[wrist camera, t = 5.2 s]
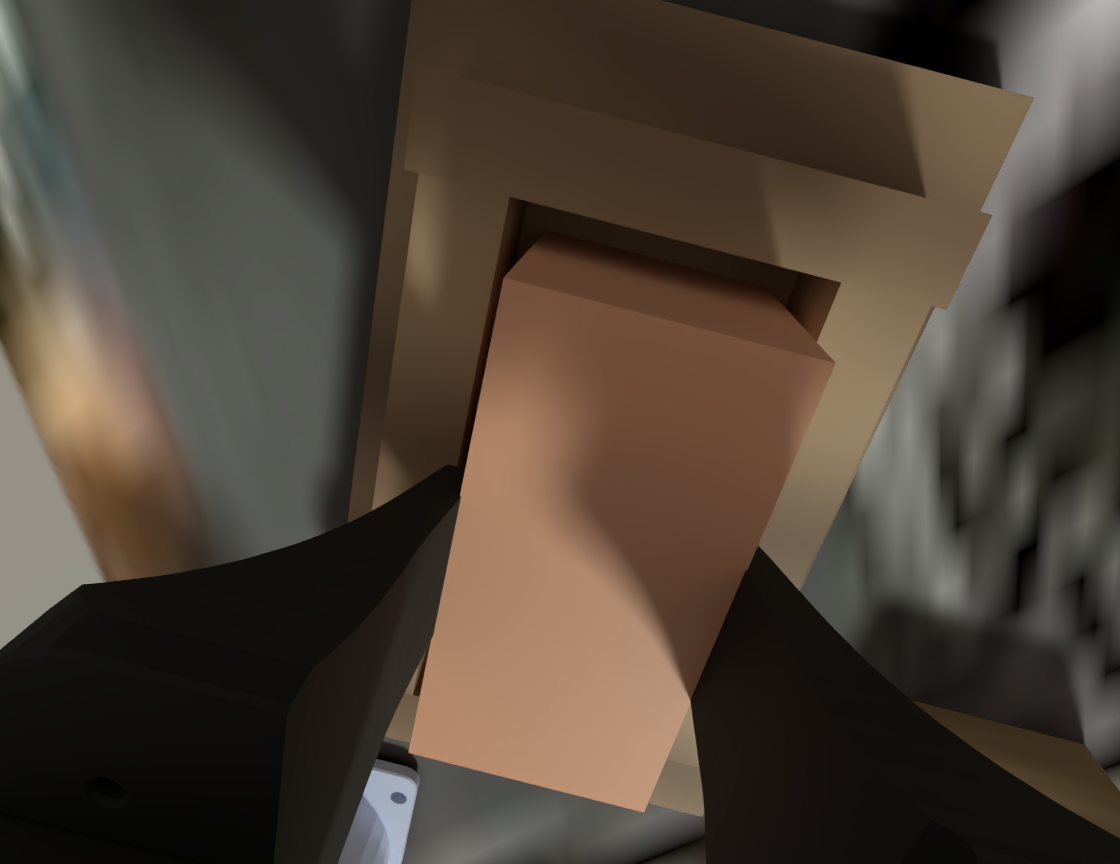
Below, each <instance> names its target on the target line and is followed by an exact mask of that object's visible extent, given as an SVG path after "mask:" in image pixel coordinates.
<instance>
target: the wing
mask: <svg viewBox="0 0 1120 864" xmlns="http://www.w3.org/2000/svg"><path fill="white" fill-rule="evenodd" d="M911 701H913V700H911ZM913 702H914V703H915V704H916V705H917V706H919V707H920V708H921V709H923V710H924V711H925V712H926V713H928V714H929V715H930V716H931V717H933V718H934V719H935V720H937V721H938V722H939V723H941V724H942V725H943V726H945V727H946V728H947V729H949V730H950V731H951V732H953V733H954V734H955V735H957V736H958V737H959V738H961V739H962V740H964V741H965V742H966V743H968V744H969V745H970V746H972V747H973V748H974V749H976V750H977V751H979V752H980V753H982V754H983V755H985V756H986V757H987V758H989V759H990V760H992V761H993V762H995V763H996V764H998V765H999V766H1001V767H1002V768H1004V769H1005V770H1007V771H1008V772H1010V773H1011V774H1013V775H1014V776H1016V777H1018V778H1019V779H1021V780H1022V781H1024V782H1025V783H1027V784H1028V785H1030V786H1032V787H1033V788H1035V789H1036V790H1038V791H1039V792H1041V793H1042V794H1044V795H1046V796H1047V797H1049V798H1050V799H1052V800H1054V801H1055V802H1057V803H1059V804H1060V805H1062V806H1064V807H1065V808H1067V809H1069V810H1071V811H1072V812H1074V813H1076V814H1078V815H1079V816H1081V817H1083V818H1085V819H1086V820H1088V821H1090V822H1092V823H1093V824H1095V825H1097V826H1099V827H1100V828H1102V829H1104V830H1106V831H1108V832H1109V833H1111V834H1113V835H1115V836H1116V837H1118V838H1120V791H1119V790H1118V789H1117V787H1116V786H1115V785H1114V783H1113V782H1112V781H1111V779H1110V778H1109V777H1108V775H1107V774H1106V773H1105V771H1104V770H1103V768H1102V767H1101V766H1100V764H1099V763H1098V762H1097V760H1096V759H1095V758H1094V756H1093V755H1092V754H1091V752H1090V751H1089V750H1088V748H1087V747H1086V746H1085V745H1084V744H1081V743H1077V742H1073V741H1069V740H1065V739H1061V738H1057V737H1053V736H1049V735H1045V734H1041V733H1038V732H1034V731H1030V730H1026V729H1022V728H1018V727H1014V726H1010V725H1006V724H1002V723H999V722H995V721H991V720H987V719H983V718H979V717H975V716H971V715H967V714H963V713H959V712H956V711H952V710H948V709H944V708H940V707H936V706H932V705H928V704H924V703H920V702H916V701H913Z"/></svg>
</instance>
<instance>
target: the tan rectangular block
mask: <svg viewBox="0 0 1120 864" xmlns="http://www.w3.org/2000/svg"><path fill="white" fill-rule="evenodd" d="M835 364H836V363H835V362H834V361H833V360H832V358H831V357H830V356H829V355H828V354H827V353H826V352H825V351H824V350H823V349H822V347H821V346H820V345H819V344H818V343H817V342H816V341H815V340H814V339H813V338H812V336H811V335H810V334H809V333H808V332H807V331H806V330H805V329H804V328H803V326H802V325H801V324H800V323H799V322H798V321H797V320H796V319H795V318H794V317H793V315H792V314H791V313H790V312H789V311H788V310H787V309H786V308H785V307H784V306H783V304H782V303H781V302H780V301H779V300H778V299H777V298H776V297H775V296H774V295H773V293H772V292H771V291H770V290H769V289H768V288H767V287H765V286H762V285H758V284H754V283H750V282H746V281H742V280H738V279H734V278H731V277H727V276H723V275H719V274H715V273H711V272H707V271H703V270H700V269H696V268H692V267H688V266H684V265H680V264H676V263H673V262H669V261H665V260H661V259H657V258H653V257H649V256H645V255H642V254H638V253H634V252H630V251H626V250H622V249H618V248H614V247H611V246H607V245H603V244H599V243H595V242H591V241H587V240H584V239H580V238H576V237H572V236H568V235H564V234H560V233H556V232H553V231H549V230H547V231H546V232H545V233H544V234H543V235H542V236H541V237H540V238H539V239H538V240H537V242H536V243H535V244H534V245H533V246H532V247H531V248H530V249H529V250H528V251H527V252H526V254H525V255H524V256H523V257H522V258H521V259H520V260H519V261H518V262H517V263H516V265H515V266H514V267H513V268H512V269H511V270H510V271H509V272H508V273H507V274H506V275H505V277H504V278H503V283H502V288H501V293H500V298H499V303H498V308H497V313H496V318H495V323H494V328H493V333H492V338H491V343H490V348H489V353H488V358H487V363H486V368H485V373H484V378H483V383H482V388H481V393H480V398H479V403H478V408H477V413H476V418H475V423H474V428H473V433H472V438H471V443H470V448H469V453H468V458H467V463H466V468H465V473H464V478H463V483H462V488H461V493H460V497H461V500H460V505H459V510H458V515H457V520H456V525H455V530H454V535H453V540H452V545H451V550H450V555H449V560H448V565H447V570H446V575H445V580H444V585H443V590H442V594H441V599H440V604H439V609H438V614H437V619H436V624H435V629H434V634H433V637H432V639H431V643H430V648H429V653H428V658H427V663H426V668H425V673H424V678H423V683H422V688H421V693H420V698H419V703H418V708H417V713H416V718H415V723H414V728H413V733H412V738H411V743H410V748H409V753H411V754H415V755H419V756H423V757H427V758H431V759H435V760H439V761H443V762H447V763H451V764H455V765H459V766H463V767H467V768H471V769H475V770H479V771H482V772H486V773H490V774H494V775H498V776H502V777H506V778H510V779H514V780H518V781H522V782H526V783H530V784H534V785H538V786H542V787H546V788H550V789H553V790H557V791H561V792H565V793H569V794H573V795H577V796H581V797H585V798H589V799H593V800H597V801H601V802H605V803H609V804H613V805H617V806H621V807H625V808H628V809H632V810H636V811H640V812H644V811H645V809H646V806H647V804H648V802H649V799H650V797H651V795H652V792H653V790H654V788H655V785H656V783H657V781H658V778H659V776H660V774H661V771H662V769H663V767H664V764H665V762H666V760H667V757H668V755H669V753H670V750H671V748H672V746H673V743H674V741H675V739H676V736H677V734H678V732H679V729H680V727H681V725H682V722H683V720H684V717H685V715H686V713H687V710H688V708H689V706H690V703H691V702H690V700H691V697H692V695H693V693H694V690H695V688H696V686H697V683H698V681H699V679H700V676H701V674H702V671H703V669H704V667H705V664H706V662H707V660H708V657H709V655H710V653H711V650H712V648H713V646H714V643H715V641H716V639H717V636H718V634H719V632H720V629H721V627H722V625H723V622H724V620H725V617H726V615H727V613H728V610H729V608H730V606H731V603H732V601H733V599H734V596H735V594H736V592H737V589H738V587H739V585H740V582H741V580H742V578H743V575H744V573H745V571H746V570H748V568H749V565H750V563H751V561H752V558H753V556H754V554H755V551H756V549H757V547H758V544H759V542H760V540H761V537H762V535H763V533H764V530H765V528H766V526H767V523H768V521H769V519H770V516H771V514H772V512H773V509H774V507H775V505H776V502H777V500H778V498H779V495H780V493H781V491H782V488H783V486H784V484H785V481H786V479H787V477H788V474H789V472H790V469H791V467H792V465H793V462H794V460H795V458H796V455H797V453H798V451H799V448H800V446H801V444H802V441H803V439H804V437H805V434H806V432H807V430H808V427H809V425H810V423H811V420H812V418H813V416H814V413H815V411H816V409H817V406H818V404H819V402H820V399H821V397H822V395H823V392H824V390H825V388H826V385H827V383H828V381H829V378H830V376H831V374H832V371H833V369H834V367H835Z"/></svg>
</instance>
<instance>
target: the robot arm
mask: <svg viewBox="0 0 1120 864" xmlns="http://www.w3.org/2000/svg"><path fill="white" fill-rule="evenodd" d="M464 473H465V468H461V467H457V466H453V465H449V464H447V465H445V466H444V467H442V468H440V469H439V470H437V471H435V472H434V473H432V474H431V475H429V476H428V477H426V478H425V479H423V480H422V481H420V482H419V483H417V484H416V485H414V486H413V487H411V488H410V489H408V490H406V491H405V492H403V493H401V494H400V495H398V496H396V497H395V498H393V499H391V500H390V501H388V502H386V503H385V504H383V505H381V506H380V507H378V508H376V509H374V510H372V511H370V512H368V513H366V514H365V515H363V516H361V517H359V518H357V519H355V520H353V521H351V522H349V523H347V524H345V525H343V526H340V527H338V528H336V529H333V530H331V531H329V532H326V533H324V534H321V535H319V536H316V537H313V538H311V539H308V540H306V541H303V542H300V543H297V544H294V545H291V546H288V547H285V548H281V549H278V550H274V551H271V552H267V553H264V554H261V555H257V556H254V557H250V558H247V559H243V560H239V561H235V562H231V563H226V564H222V565H217V566H213V567H208V568H203V569H197V570H192V571H187V572H181V573H175V574H169V575H163V576H155V577H147V578H139V579H130V580H122V581H113V582H105V583H95V584H84V585H81V586H80V587H78V588H77V589H76V590H74V591H73V592H71V593H70V594H69V595H67V596H66V597H65V598H63V599H62V600H61V601H59V602H58V603H57V604H55V605H54V606H53V607H51V608H50V609H49V610H48V611H46V612H45V613H44V614H43V615H42V616H40V617H39V618H38V619H37V620H36V621H34V622H33V623H32V624H31V625H30V626H28V627H27V628H26V629H25V630H23V631H22V632H21V633H20V634H19V635H17V636H16V637H15V638H14V639H13V640H11V641H10V642H9V643H8V644H7V645H5V646H4V647H3V648H2V649H1V650H0V864H402V861H403V856H404V852H405V847H406V842H407V838H408V833H409V828H410V824H411V819H412V814H413V810H414V805H415V801H416V796H417V791H418V787H419V782H420V780H419V776H418V774H417V773H416V772H415V771H414V770H413V769H412V768H409V767H407V766H403V765H399V764H395V763H391V762H387V761H383V760H379V759H376V758H377V756H378V753H379V750H380V748H381V745H382V742H383V740H384V737H385V734H386V732H387V730H388V728H389V725H390V723H391V721H392V718H393V716H394V714H395V712H396V709H397V707H398V705H399V703H400V701H401V699H402V697H403V695H404V693H405V691H406V689H407V687H408V685H409V683H410V681H411V679H412V677H413V675H414V673H415V671H416V669H417V667H418V665H419V663H420V661H421V659H422V657H423V655H424V653H425V651H426V649H427V647H428V645H429V643H430V641H431V639H432V637H433V634H434V629H435V624H436V619H437V614H438V609H439V604H440V599H441V594H442V590H443V585H444V580H445V575H446V570H447V565H448V560H449V555H450V550H451V545H452V540H453V535H454V530H455V525H456V520H457V515H458V510H459V505H460V500H461V497H460V493H461V488H462V483H463V478H464ZM690 702H691V710H692V717H693V725H694V732H695V739H696V746H697V754H698V761H699V768H700V776H701V783H702V791H703V802H704V813H705V841H706V864H1120V838H1118V837H1116V836H1115V835H1113V834H1111V833H1109V832H1108V831H1106V830H1104V829H1102V828H1100V827H1099V826H1097V825H1095V824H1093V823H1092V822H1090V821H1088V820H1086V819H1085V818H1083V817H1081V816H1079V815H1078V814H1076V813H1074V812H1072V811H1071V810H1069V809H1067V808H1065V807H1064V806H1062V805H1060V804H1059V803H1057V802H1055V801H1054V800H1052V799H1050V798H1049V797H1047V796H1046V795H1044V794H1042V793H1041V792H1039V791H1038V790H1036V789H1035V788H1033V787H1032V786H1030V785H1028V784H1027V783H1025V782H1024V781H1022V780H1021V779H1019V778H1018V777H1016V776H1014V775H1013V774H1011V773H1010V772H1008V771H1007V770H1005V769H1004V768H1002V767H1001V766H999V765H998V764H996V763H995V762H993V761H992V760H990V759H989V758H987V757H986V756H985V755H983V754H982V753H980V752H979V751H977V750H976V749H974V748H973V747H972V746H970V745H969V744H968V743H966V742H965V741H964V740H962V739H961V738H959V737H958V736H957V735H955V734H954V733H953V732H951V731H950V730H949V729H947V728H946V727H945V726H943V725H942V724H941V723H939V722H938V721H937V720H935V719H934V718H933V717H931V716H930V715H929V714H928V713H926V712H925V711H924V710H923V709H921V708H920V707H919V706H917V705H916V704H915V703H914V702H913V701H911V700H910V699H909V698H908V697H907V696H906V695H904V694H903V693H902V692H901V691H900V690H899V689H897V688H896V687H895V686H894V685H893V684H892V683H890V682H889V681H888V680H887V679H886V678H885V677H883V676H882V675H881V674H880V673H879V672H878V671H877V670H876V669H875V668H873V667H872V666H871V665H870V664H869V663H868V662H867V661H866V660H865V659H864V658H863V657H862V656H861V655H860V654H859V653H858V652H857V651H856V650H855V649H854V648H853V647H852V646H851V645H850V644H849V643H848V642H847V641H846V640H845V639H844V638H843V637H842V636H841V635H840V634H839V633H838V632H837V631H836V630H835V629H834V628H833V627H832V626H831V625H830V624H829V623H828V622H827V621H826V620H825V619H824V618H823V617H822V615H821V614H820V613H819V612H818V611H817V610H816V609H815V608H814V607H813V606H812V605H811V603H810V602H809V601H808V600H807V599H806V598H805V597H804V596H803V594H802V593H801V592H800V591H799V590H798V589H797V588H796V587H795V585H794V584H793V583H792V582H791V581H790V580H789V579H788V577H787V576H786V575H785V574H784V573H783V572H782V571H781V569H780V568H779V567H778V566H777V565H776V564H775V563H774V562H773V560H772V559H771V558H770V557H769V556H768V555H767V554H766V553H765V552H764V551H763V550H762V549H761V548H760V547H759V546H758V547H757V549H756V551H755V554H754V556H753V558H752V561H751V563H750V565H749V568H748V570H746V571H745V573H744V575H743V578H742V580H741V582H740V585H739V587H738V589H737V592H736V594H735V596H734V599H733V601H732V603H731V606H730V608H729V610H728V613H727V615H726V617H725V620H724V622H723V625H722V627H721V629H720V632H719V634H718V636H717V639H716V641H715V643H714V646H713V648H712V650H711V653H710V655H709V657H708V660H707V662H706V664H705V667H704V669H703V671H702V674H701V676H700V679H699V681H698V683H697V686H696V688H695V690H694V693H693V695H692V697H691V700H690Z"/></svg>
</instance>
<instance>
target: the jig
mask: <svg viewBox="0 0 1120 864" xmlns="http://www.w3.org/2000/svg"><path fill="white" fill-rule="evenodd" d="M1033 99H1034V97H1030V96H1026V95H1022V94H1019V93H1015V92H1011V91H1007V90H1003V89H999V88H996V87H992V86H988V85H984V84H980V83H976V82H973V81H969V80H965V79H961V78H957V77H953V76H950V75H946V74H942V73H938V72H934V71H930V70H927V69H923V68H919V67H915V66H911V65H907V64H904V63H900V62H896V61H892V60H888V59H884V58H881V57H877V56H873V55H869V54H865V53H862V52H858V51H854V50H850V49H846V48H842V47H839V46H835V45H831V44H827V43H823V42H819V41H816V40H812V39H808V38H804V37H800V36H796V35H793V34H789V33H785V32H781V31H777V30H773V29H770V28H766V27H762V26H758V25H754V24H750V23H747V22H743V21H739V20H735V19H731V18H727V17H724V16H720V15H716V14H712V13H708V12H704V11H701V10H697V9H693V8H689V7H685V6H681V5H678V4H674V3H670V2H666V1H662V0H411V8H410V16H409V24H408V33H407V41H406V49H405V57H404V65H403V73H402V82H401V90H400V98H399V106H398V114H397V122H396V131H395V139H394V147H393V155H392V163H391V171H390V180H389V188H388V196H387V204H386V212H385V220H384V229H383V237H382V245H381V253H380V261H379V269H378V277H377V286H376V294H375V302H374V310H373V318H372V326H371V335H370V343H369V351H368V359H367V367H366V375H365V384H364V392H363V400H362V408H361V416H360V424H359V433H358V441H357V449H356V457H355V465H354V473H353V482H352V490H351V498H350V506H349V514H348V522H347V523H349V522H351V521H353V520H355V519H357V518H359V517H361V516H363V515H365V514H366V513H368V512H370V511H372V510H374V509H376V508H378V507H380V506H381V505H383V504H385V503H386V502H388V501H390V500H391V499H393V498H395V497H396V496H398V495H400V494H401V493H403V492H405V491H406V490H408V489H410V488H411V487H413V486H414V485H416V484H417V483H419V482H420V481H422V480H423V479H425V478H426V477H428V476H429V475H431V474H432V473H434V472H435V471H437V470H439V469H440V468H442V467H444V466H445V465H447V464H449V465H453V466H457V467H461V468H466V463H467V458H468V453H469V448H470V443H471V438H472V433H473V428H474V423H475V418H476V413H477V408H478V403H479V398H480V393H481V388H482V383H483V378H484V373H485V368H486V363H487V358H488V353H489V348H490V343H491V338H492V333H493V328H494V323H495V318H496V313H497V308H498V303H499V298H500V293H501V288H502V283H503V278H504V277H505V275H506V274H507V273H508V272H509V271H510V270H511V269H512V268H513V267H514V266H515V265H516V263H517V262H518V261H519V260H520V259H521V258H522V257H523V256H524V255H525V254H526V252H527V251H528V250H529V249H530V248H531V247H532V246H533V245H534V244H535V243H536V242H537V240H538V239H539V238H540V237H541V236H542V235H543V234H544V233H545V232H546V231H547V230H549V231H553V232H556V233H560V234H564V235H568V236H572V237H576V238H580V239H584V240H587V241H591V242H595V243H599V244H603V245H607V246H611V247H614V248H618V249H622V250H626V251H630V252H634V253H638V254H642V255H645V256H649V257H653V258H657V259H661V260H665V261H669V262H673V263H676V264H680V265H684V266H688V267H692V268H696V269H700V270H703V271H707V272H711V273H715V274H719V275H723V276H727V277H731V278H734V279H738V280H742V281H746V282H750V283H754V284H758V285H762V286H765V287H767V288H768V289H769V290H770V291H771V292H772V293H773V295H774V296H775V297H776V298H777V299H778V300H779V301H780V302H781V303H782V304H783V306H784V307H785V308H786V309H787V310H788V311H789V312H790V313H791V314H792V315H793V317H794V318H795V319H796V320H797V321H798V322H799V323H800V324H801V325H802V326H803V328H804V329H805V330H806V331H807V332H808V333H809V334H810V335H811V336H812V338H813V339H814V340H815V341H816V342H817V343H818V344H819V345H820V346H821V347H822V349H823V350H824V351H825V352H826V353H827V354H828V355H829V356H830V357H831V358H832V360H833V361H834V362H835V363H836V364H835V367H834V369H833V371H832V374H831V376H830V378H829V381H828V383H827V385H826V388H825V390H824V392H823V395H822V397H821V399H820V402H819V404H818V406H817V409H816V411H815V413H814V416H813V418H812V420H811V423H810V425H809V427H808V430H807V432H806V434H805V437H804V439H803V441H802V444H801V446H800V448H799V451H798V453H797V455H796V458H795V460H794V462H793V465H792V467H791V469H790V472H789V474H788V477H787V479H786V481H785V484H784V486H783V488H782V491H781V493H780V495H779V498H778V500H777V502H776V505H775V507H774V509H773V512H772V514H771V516H770V519H769V521H768V523H767V526H766V528H765V530H764V533H763V535H762V537H761V540H760V542H759V544H758V546H759V547H760V548H761V549H762V550H763V551H764V552H765V553H766V554H767V555H768V556H769V557H770V558H771V559H772V560H773V562H774V563H775V564H776V565H777V566H778V567H779V568H780V569H781V571H782V572H783V573H784V574H785V575H786V576H787V577H788V579H789V580H790V581H791V582H792V583H793V584H794V585H795V587H796V588H797V589H798V590H799V591H800V590H801V588H802V586H803V584H804V582H805V580H806V577H807V575H808V573H809V571H810V569H811V567H812V565H813V563H814V561H815V558H816V556H817V554H818V552H819V550H820V548H821V546H822V544H823V542H824V539H825V537H826V535H827V533H828V531H829V529H830V527H831V525H832V523H833V520H834V518H835V516H836V514H837V512H838V510H839V508H840V506H841V504H842V502H843V499H844V497H845V495H846V493H847V491H848V489H849V487H850V485H851V483H852V480H853V478H854V476H855V474H856V472H857V470H858V468H859V466H860V464H861V461H862V459H863V457H864V455H865V453H866V451H867V449H868V447H869V445H870V443H871V440H872V438H873V436H874V434H875V432H876V430H877V428H878V426H879V424H880V421H881V419H882V417H883V415H884V413H885V411H886V409H887V407H888V405H889V402H890V400H891V398H892V396H893V394H894V392H895V390H896V388H897V386H898V383H899V381H900V379H901V377H902V375H903V373H904V371H905V369H906V367H907V365H908V362H909V360H910V358H911V356H912V354H913V352H914V350H915V348H916V346H917V343H918V341H919V339H920V337H921V335H922V333H923V331H924V329H925V327H926V324H927V322H928V320H929V318H930V316H931V314H932V312H933V310H934V308H935V307H938V308H942V309H946V310H947V308H948V306H949V304H950V302H951V300H952V297H953V295H954V293H955V291H956V289H957V287H958V285H959V283H960V281H961V279H962V277H963V275H964V273H965V271H966V268H967V266H968V264H969V262H970V260H971V258H972V256H973V254H974V252H975V250H976V248H977V246H978V244H979V242H980V239H981V237H982V235H983V233H984V231H985V229H986V227H987V225H988V223H989V221H990V219H991V217H992V215H990V214H986V213H982V212H980V211H981V209H982V206H983V204H984V202H985V200H986V198H987V196H988V194H989V192H990V190H991V187H992V185H993V183H994V181H995V179H996V177H997V175H998V173H999V171H1000V169H1001V166H1002V164H1003V162H1004V160H1005V158H1006V156H1007V154H1008V152H1009V150H1010V147H1011V145H1012V143H1013V141H1014V139H1015V137H1016V135H1017V133H1018V131H1019V128H1020V126H1021V124H1022V122H1023V120H1024V118H1025V116H1026V114H1027V112H1028V109H1029V107H1030V105H1031V103H1032V101H1033ZM430 643H431V641H430ZM430 643H429V645H428V647H427V649H426V651H425V653H424V655H423V657H422V659H421V661H420V663H419V665H418V667H417V669H416V671H415V673H414V675H413V677H412V679H411V681H410V683H409V685H408V687H407V689H406V691H405V693H404V695H403V697H402V699H401V701H400V703H399V705H398V707H397V709H396V712H395V714H394V716H393V718H392V721H391V723H390V725H389V728H388V730H387V732H386V734H385V737H389V738H393V739H397V740H401V741H405V742H408V743H411V738H412V733H413V728H414V723H415V718H416V713H417V708H418V703H419V698H420V693H421V688H422V683H423V678H424V673H425V668H426V663H427V658H428V653H429V648H430ZM648 803H650V804H653V805H657V806H661V807H665V808H669V809H673V810H677V811H681V812H685V813H689V814H693V815H697V816H701V817H702V815H703V813H704V802H703V791H702V783H701V776H700V768H699V761H698V754H697V746H696V739H695V732H694V725H693V717H692V710H691V703H690V706H689V708H688V710H687V713H686V715H685V717H684V720H683V722H682V725H681V727H680V729H679V732H678V734H677V736H676V739H675V741H674V743H673V746H672V748H671V750H670V753H669V755H668V757H667V760H666V762H665V764H664V767H663V769H662V771H661V774H660V776H659V778H658V781H657V783H656V785H655V788H654V790H653V792H652V795H651V797H650V799H649V802H648Z"/></svg>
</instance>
